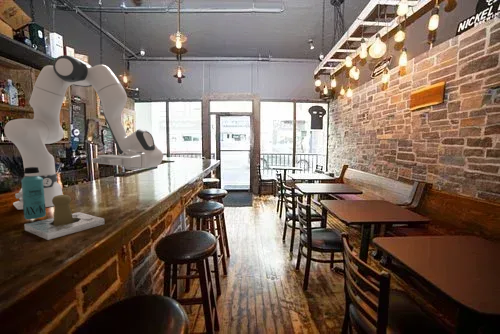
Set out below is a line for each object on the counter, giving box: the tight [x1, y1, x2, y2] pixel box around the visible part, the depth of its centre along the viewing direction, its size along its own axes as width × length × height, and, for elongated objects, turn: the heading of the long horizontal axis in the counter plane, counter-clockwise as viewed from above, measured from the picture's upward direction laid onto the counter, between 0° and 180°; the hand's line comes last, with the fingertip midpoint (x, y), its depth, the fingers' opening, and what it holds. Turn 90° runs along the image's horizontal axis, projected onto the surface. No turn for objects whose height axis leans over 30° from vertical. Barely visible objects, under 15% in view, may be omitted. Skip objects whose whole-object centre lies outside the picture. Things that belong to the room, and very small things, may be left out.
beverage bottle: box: [20, 167, 47, 220], centre depth 96 cm, size 6×7×20 cm
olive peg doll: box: [52, 194, 74, 226], centre depth 90 cm, size 6×6×11 cm
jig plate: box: [24, 211, 105, 241], centre depth 90 cm, size 17×17×2 cm
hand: (101, 161), depth 102 cm, fingers open, 8 cm apart
